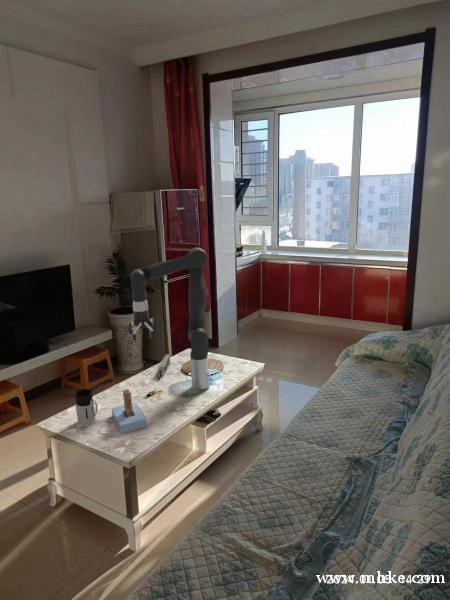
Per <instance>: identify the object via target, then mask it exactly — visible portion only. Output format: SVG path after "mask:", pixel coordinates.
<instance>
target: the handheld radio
mask: <svg viewBox="0 0 450 600" xmlns="http://www.w3.org/2000/svg"><path fill="white" fill-rule="evenodd" d="M170 365H171V357H170V354H165V355H164V357H163V359H162V360H161V362H160V363H159V365H158V366H157V369H158V377H157V380H158V381H160V380H161V378H163V377H164V376H165V375H166V372H167V370H168V369H169V367H170Z"/></svg>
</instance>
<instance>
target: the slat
mask: <svg viewBox="0 0 450 600" xmlns="http://www.w3.org/2000/svg"><path fill="white" fill-rule="evenodd" d="M122 395H123V405H124V407H125V417H130V416H133V412H132V402H133V401H132V392H131V391H130V389H123V390H122Z"/></svg>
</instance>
